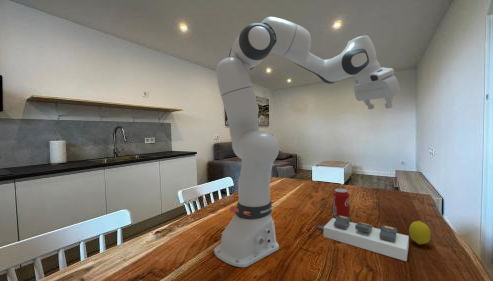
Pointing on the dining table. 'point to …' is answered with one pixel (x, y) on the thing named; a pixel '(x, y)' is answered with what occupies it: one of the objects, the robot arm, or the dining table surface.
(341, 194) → the beverage can
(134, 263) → the dining table surface
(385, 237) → the rocker
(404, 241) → the rocker switch panel
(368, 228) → the rocker
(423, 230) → the lemon
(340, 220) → the rocker
